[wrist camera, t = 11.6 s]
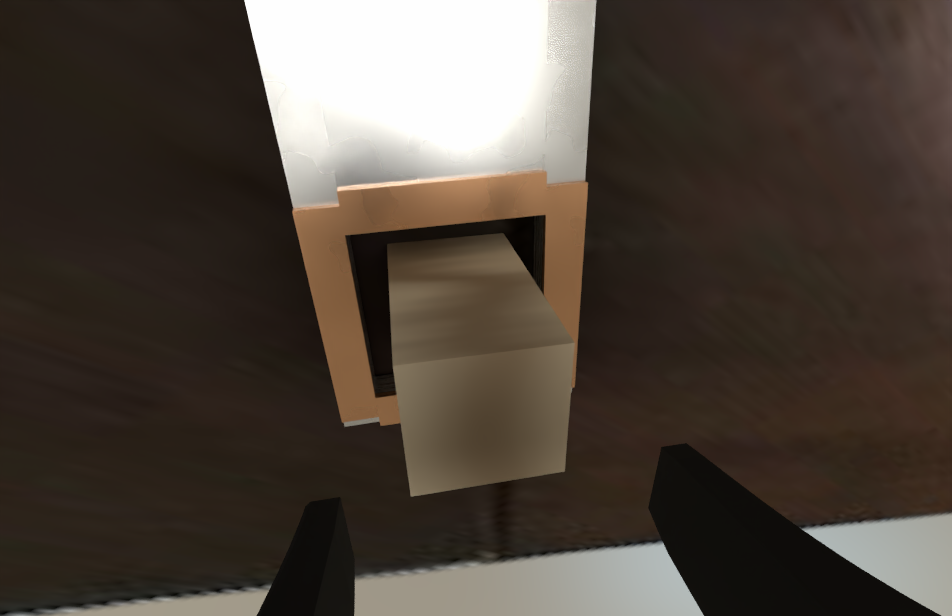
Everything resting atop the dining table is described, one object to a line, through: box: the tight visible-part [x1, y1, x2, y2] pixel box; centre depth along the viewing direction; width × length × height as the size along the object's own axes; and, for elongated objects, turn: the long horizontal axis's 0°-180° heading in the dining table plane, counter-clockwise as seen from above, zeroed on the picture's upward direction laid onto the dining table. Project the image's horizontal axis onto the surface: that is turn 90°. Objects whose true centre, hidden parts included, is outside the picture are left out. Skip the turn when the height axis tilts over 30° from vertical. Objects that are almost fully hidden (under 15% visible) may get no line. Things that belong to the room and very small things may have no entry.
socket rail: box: [245, 0, 596, 427], centre depth 16 cm, size 10×24×2 cm, turn 3°
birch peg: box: [387, 233, 575, 497], centre depth 16 cm, size 4×4×8 cm
